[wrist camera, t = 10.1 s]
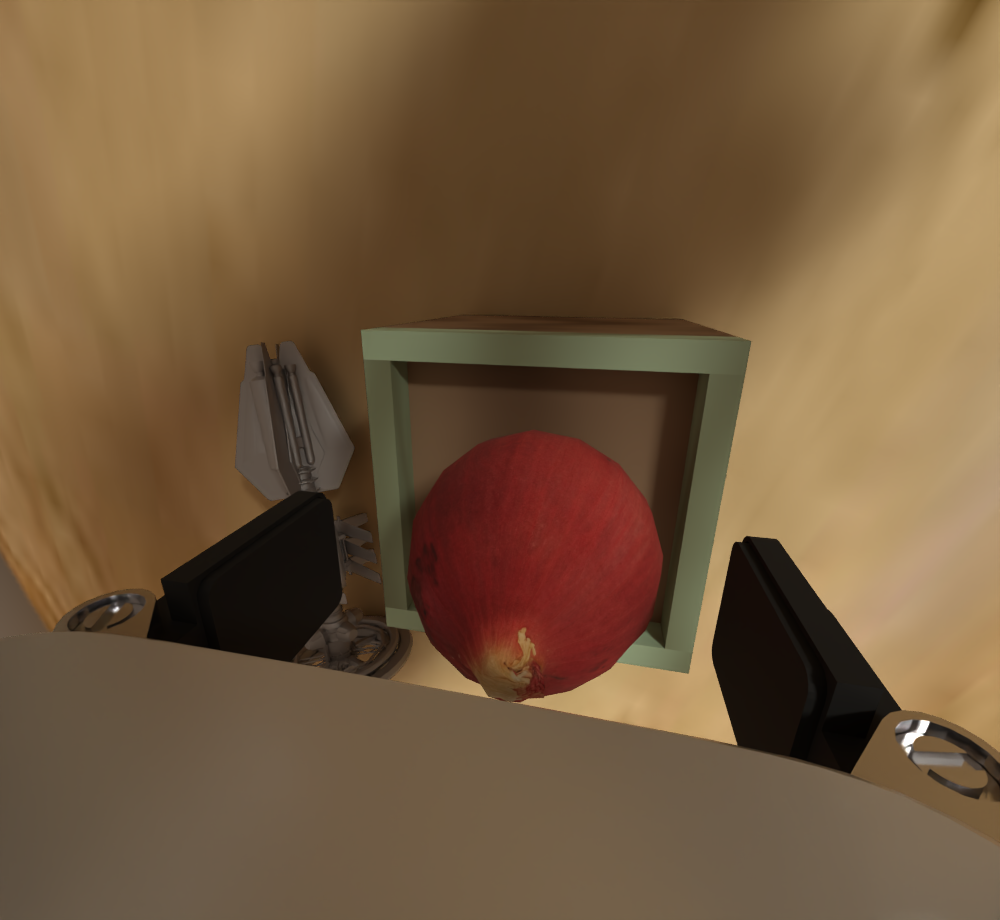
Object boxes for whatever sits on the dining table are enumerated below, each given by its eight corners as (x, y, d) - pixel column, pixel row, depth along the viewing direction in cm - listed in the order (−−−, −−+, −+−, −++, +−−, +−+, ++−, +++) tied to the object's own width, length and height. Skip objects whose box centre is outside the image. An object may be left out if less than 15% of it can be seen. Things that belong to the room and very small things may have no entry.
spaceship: (307, 929, 29) (393, 1019, 24) (145, 358, 22) (223, 333, 17) (401, 820, 35) (484, 876, 30) (298, 349, 28) (386, 328, 23)
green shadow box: (683, 319, 20) (751, 341, 11) (652, 537, 24) (684, 693, 15) (463, 314, 22) (361, 330, 13) (466, 517, 26) (388, 644, 17)
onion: (534, 598, 16) (471, 858, 9) (426, 470, 15) (258, 639, 8) (685, 514, 14) (772, 767, 7) (569, 360, 13) (517, 452, 6)
